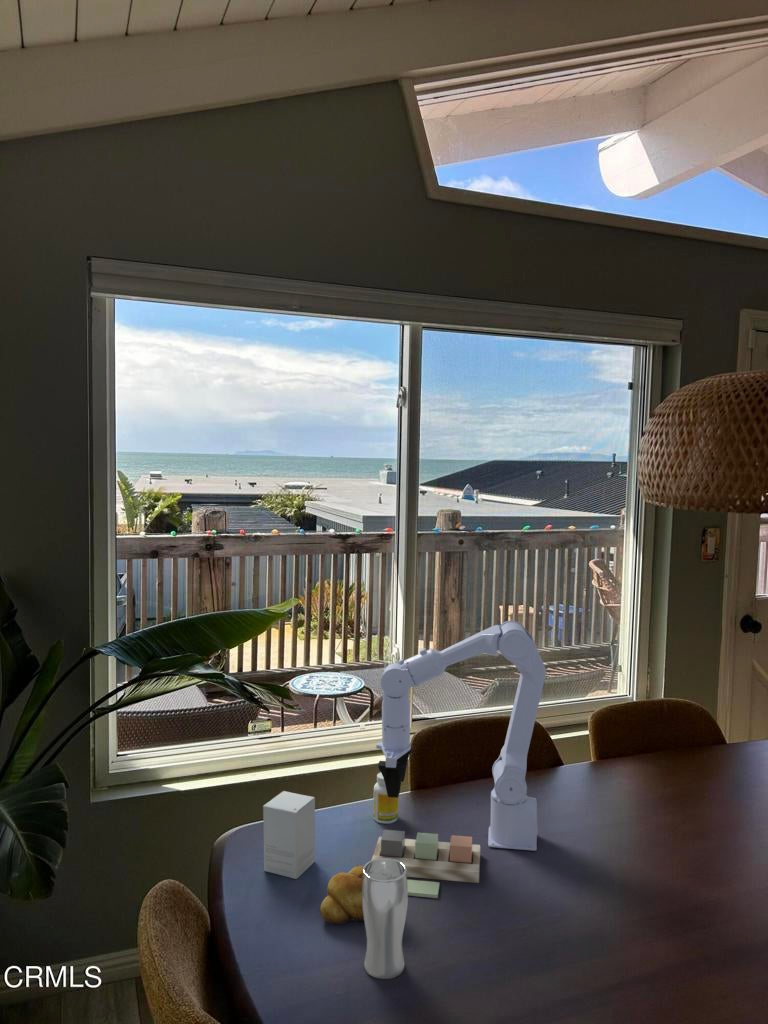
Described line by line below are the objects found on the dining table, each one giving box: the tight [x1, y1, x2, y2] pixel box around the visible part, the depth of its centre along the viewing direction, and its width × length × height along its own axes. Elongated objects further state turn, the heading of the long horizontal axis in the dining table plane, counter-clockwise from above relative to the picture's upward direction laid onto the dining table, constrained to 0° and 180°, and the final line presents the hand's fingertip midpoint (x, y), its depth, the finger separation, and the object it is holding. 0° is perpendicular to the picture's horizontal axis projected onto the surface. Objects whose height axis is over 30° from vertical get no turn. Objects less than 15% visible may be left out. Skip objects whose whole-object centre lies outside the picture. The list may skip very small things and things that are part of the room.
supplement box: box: [262, 790, 316, 880], centre depth 138 cm, size 7×7×13 cm
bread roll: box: [319, 864, 364, 925], centre depth 124 cm, size 13×10×8 cm
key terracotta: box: [449, 834, 473, 864], centre depth 138 cm, size 4×4×3 cm
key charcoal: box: [381, 829, 406, 858], centre depth 140 cm, size 4×4×3 cm
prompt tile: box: [407, 878, 440, 899], centre depth 130 cm, size 6×4×1 cm, turn 81°
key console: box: [371, 836, 481, 884], centre depth 139 cm, size 20×10×2 cm, turn 81°
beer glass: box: [361, 858, 409, 980], centre depth 110 cm, size 7×7×15 cm
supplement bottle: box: [372, 771, 399, 825], centre depth 157 cm, size 5×5×10 cm
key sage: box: [415, 832, 439, 861], centre depth 139 cm, size 4×4×3 cm
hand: (396, 788), depth 150 cm, fingers open, 7 cm apart
